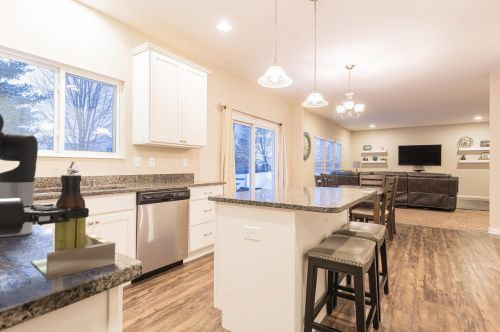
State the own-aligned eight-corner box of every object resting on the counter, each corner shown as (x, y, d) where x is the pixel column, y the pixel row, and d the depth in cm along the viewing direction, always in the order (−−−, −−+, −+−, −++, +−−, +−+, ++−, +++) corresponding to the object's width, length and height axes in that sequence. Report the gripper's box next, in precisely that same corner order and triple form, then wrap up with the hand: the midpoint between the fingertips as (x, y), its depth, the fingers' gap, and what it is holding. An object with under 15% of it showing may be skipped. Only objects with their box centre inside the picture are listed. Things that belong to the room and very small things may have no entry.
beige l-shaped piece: (31, 262, 66) (31, 241, 66) (91, 251, 77) (92, 232, 77) (48, 279, 57) (49, 255, 57) (114, 263, 68) (115, 243, 68)
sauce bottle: (79, 251, 71) (83, 174, 71) (89, 257, 67) (93, 175, 67) (48, 257, 66) (53, 173, 66) (57, 264, 62) (62, 175, 62)
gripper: (-2, 202, 51) (95, 198, 64) (-14, 195, 60) (73, 192, 73) (-5, 243, 51) (93, 230, 64) (-16, 230, 60) (71, 221, 73)
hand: (82, 210), depth 68 cm, fingers closed on sauce bottle, 6 cm apart
